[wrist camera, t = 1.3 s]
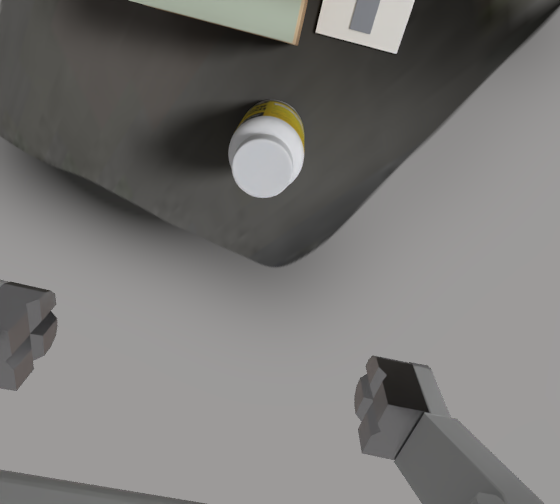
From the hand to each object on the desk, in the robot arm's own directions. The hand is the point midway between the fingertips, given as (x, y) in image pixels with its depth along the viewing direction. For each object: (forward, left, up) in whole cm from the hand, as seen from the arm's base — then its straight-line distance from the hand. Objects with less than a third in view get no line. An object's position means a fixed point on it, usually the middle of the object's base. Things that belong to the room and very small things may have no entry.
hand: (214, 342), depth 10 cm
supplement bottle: (+1, 0, -27) cm, 27 cm away
